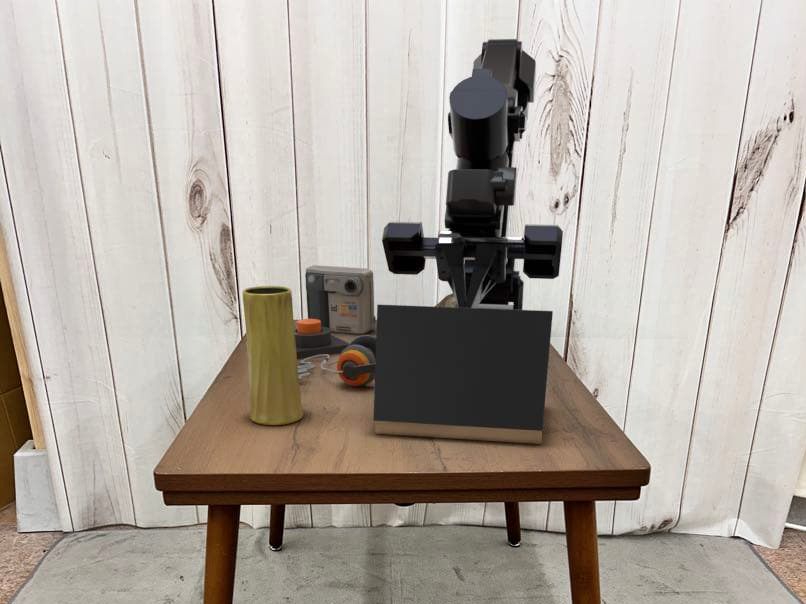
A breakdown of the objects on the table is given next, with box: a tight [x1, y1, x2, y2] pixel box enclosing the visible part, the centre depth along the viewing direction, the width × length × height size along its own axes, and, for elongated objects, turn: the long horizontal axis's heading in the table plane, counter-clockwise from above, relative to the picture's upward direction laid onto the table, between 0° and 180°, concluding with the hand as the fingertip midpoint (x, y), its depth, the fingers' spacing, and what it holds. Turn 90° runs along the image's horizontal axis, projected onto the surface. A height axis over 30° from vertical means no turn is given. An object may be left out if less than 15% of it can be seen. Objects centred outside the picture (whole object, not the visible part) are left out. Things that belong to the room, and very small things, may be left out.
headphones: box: [297, 334, 376, 387], centre depth 103 cm, size 17×5×20 cm
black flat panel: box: [372, 304, 554, 432], centre depth 81 cm, size 12×18×1 cm
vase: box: [242, 285, 304, 426], centre depth 87 cm, size 6×6×14 cm
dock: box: [294, 326, 350, 360], centre depth 117 cm, size 10×8×3 cm
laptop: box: [374, 421, 543, 445], centre depth 89 cm, size 12×18×2 cm, turn 80°
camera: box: [304, 264, 377, 335], centre depth 128 cm, size 11×6×10 cm, turn 67°
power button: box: [295, 318, 321, 334], centre depth 116 cm, size 4×4×2 cm
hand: (464, 318), depth 81 cm, fingers closed, pressing on black flat panel
